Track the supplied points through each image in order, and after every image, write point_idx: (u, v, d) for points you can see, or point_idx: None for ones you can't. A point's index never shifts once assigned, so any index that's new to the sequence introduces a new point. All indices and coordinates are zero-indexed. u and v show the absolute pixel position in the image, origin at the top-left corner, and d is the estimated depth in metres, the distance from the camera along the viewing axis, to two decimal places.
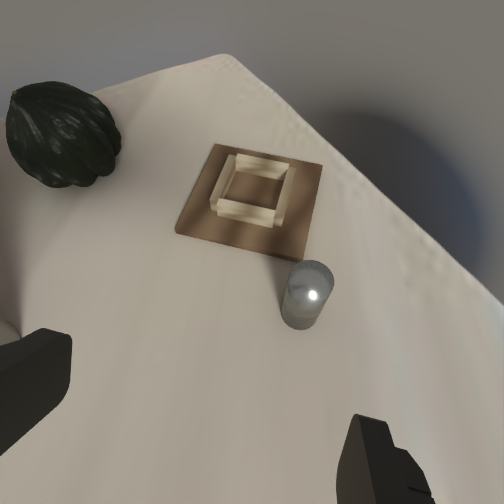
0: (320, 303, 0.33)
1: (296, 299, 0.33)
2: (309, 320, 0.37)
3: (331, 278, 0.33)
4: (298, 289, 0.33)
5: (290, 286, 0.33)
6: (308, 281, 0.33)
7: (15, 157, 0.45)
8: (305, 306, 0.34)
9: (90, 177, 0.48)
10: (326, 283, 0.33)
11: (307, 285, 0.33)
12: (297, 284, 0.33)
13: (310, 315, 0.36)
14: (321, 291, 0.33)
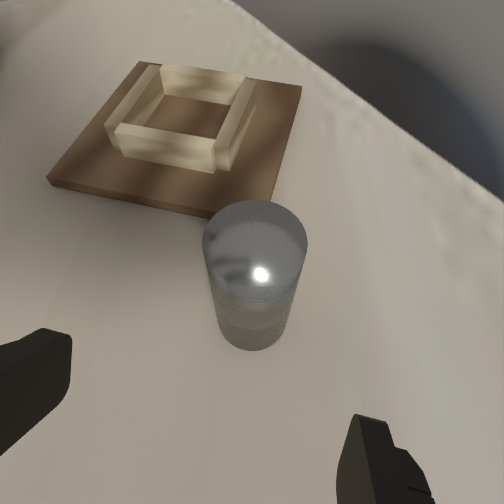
0: (276, 296, 0.14)
1: (221, 287, 0.14)
2: (264, 333, 0.18)
3: (301, 237, 0.14)
4: (222, 261, 0.14)
5: None
6: (247, 244, 0.14)
7: None
8: (242, 304, 0.15)
9: None
10: (289, 249, 0.14)
11: (244, 253, 0.14)
12: (220, 251, 0.14)
13: (260, 322, 0.17)
14: (276, 265, 0.14)
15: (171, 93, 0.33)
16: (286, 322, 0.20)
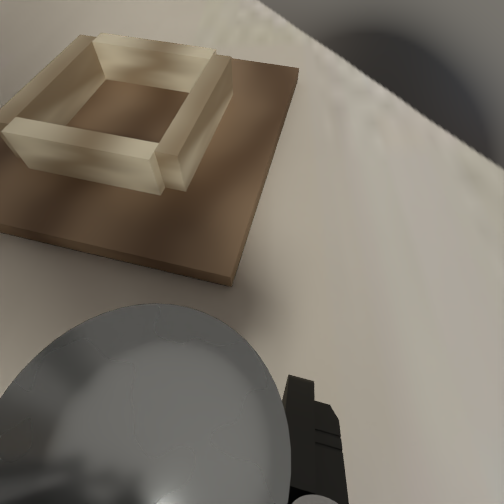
0: None
1: None
2: None
3: (273, 439, 0.05)
4: None
5: None
6: (105, 472, 0.05)
7: None
8: None
9: None
10: (232, 491, 0.04)
11: None
12: (12, 503, 0.04)
13: None
14: None
15: (114, 77, 0.23)
16: None
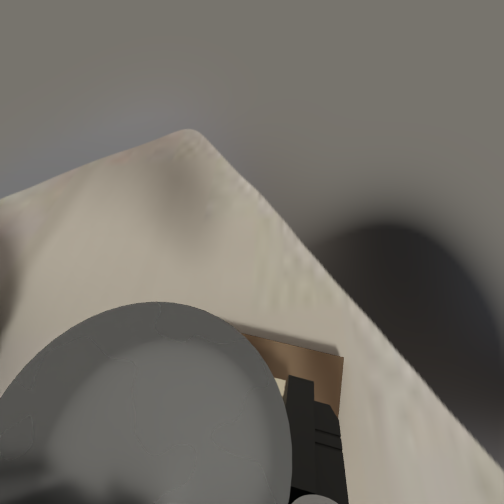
0: None
1: None
2: None
3: (274, 437, 0.05)
4: None
5: None
6: (106, 469, 0.05)
7: None
8: None
9: None
10: (234, 490, 0.04)
11: None
12: (13, 501, 0.04)
13: None
14: None
15: None
16: None
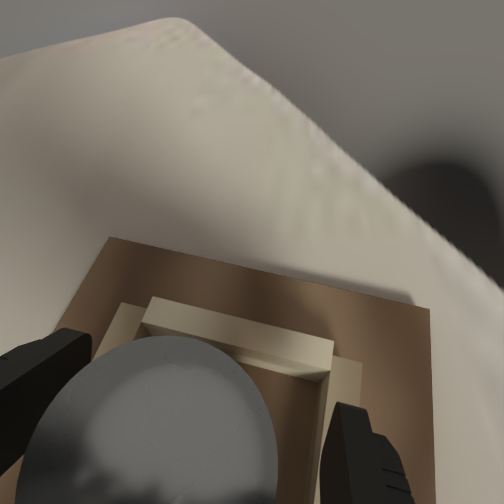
0: None
1: None
2: None
3: (264, 451, 0.06)
4: None
5: None
6: (129, 477, 0.06)
7: None
8: None
9: None
10: (230, 493, 0.06)
11: None
12: (56, 502, 0.06)
13: None
14: None
15: None
16: None
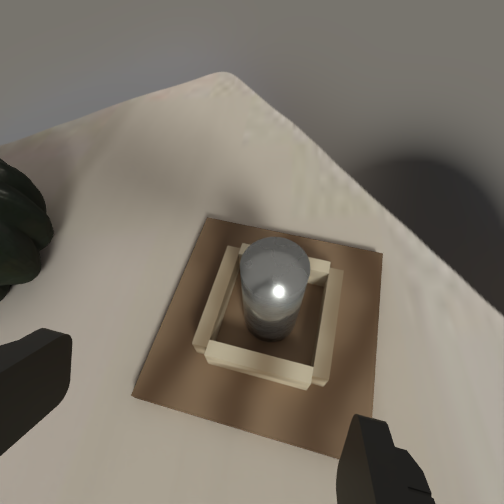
0: (288, 303, 0.21)
1: (251, 297, 0.21)
2: (279, 329, 0.25)
3: (306, 264, 0.21)
4: (253, 280, 0.21)
5: (241, 276, 0.21)
6: (269, 269, 0.21)
7: None
8: (265, 308, 0.22)
9: None
10: (297, 272, 0.21)
11: (268, 275, 0.21)
12: (251, 273, 0.21)
13: (277, 321, 0.23)
14: (289, 284, 0.21)
15: None
16: (295, 321, 0.27)
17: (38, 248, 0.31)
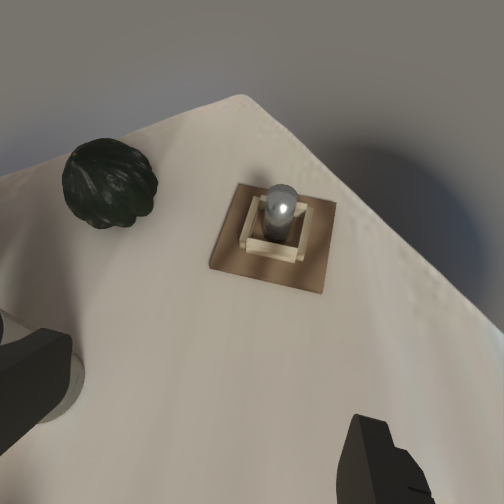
0: (287, 212, 0.48)
1: (271, 208, 0.48)
2: (281, 231, 0.52)
3: (296, 195, 0.48)
4: (272, 200, 0.48)
5: (267, 199, 0.48)
6: (280, 196, 0.48)
7: (70, 205, 0.51)
8: (277, 215, 0.49)
9: (133, 220, 0.54)
10: (292, 198, 0.48)
11: (279, 198, 0.48)
12: (272, 197, 0.48)
13: (281, 224, 0.50)
14: (288, 202, 0.48)
15: (263, 209, 0.58)
16: (289, 232, 0.54)
17: None
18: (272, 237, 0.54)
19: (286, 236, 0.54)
